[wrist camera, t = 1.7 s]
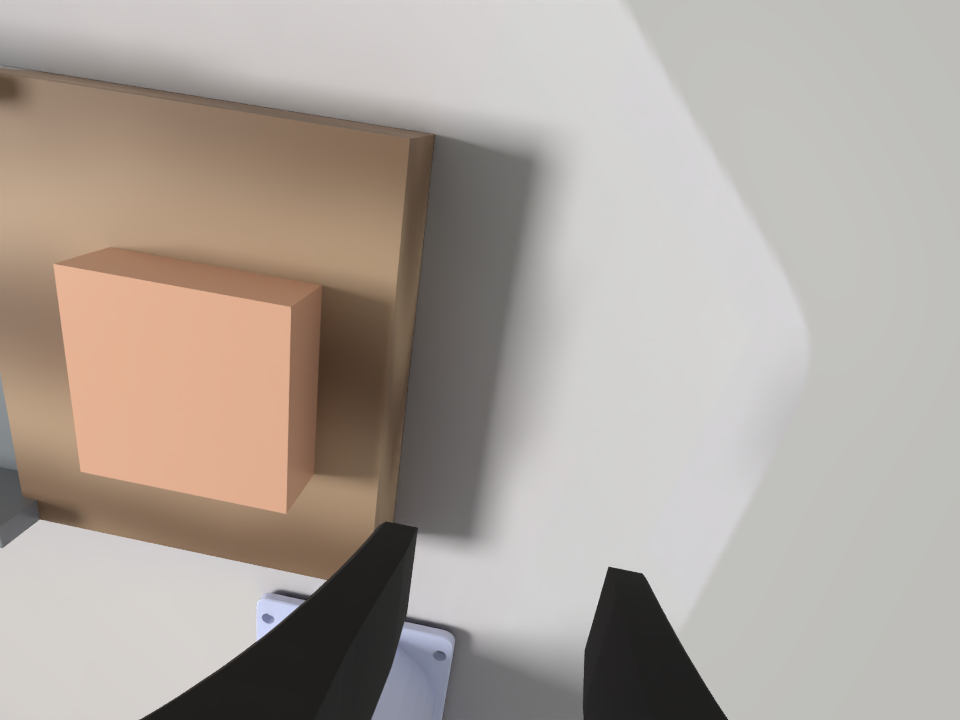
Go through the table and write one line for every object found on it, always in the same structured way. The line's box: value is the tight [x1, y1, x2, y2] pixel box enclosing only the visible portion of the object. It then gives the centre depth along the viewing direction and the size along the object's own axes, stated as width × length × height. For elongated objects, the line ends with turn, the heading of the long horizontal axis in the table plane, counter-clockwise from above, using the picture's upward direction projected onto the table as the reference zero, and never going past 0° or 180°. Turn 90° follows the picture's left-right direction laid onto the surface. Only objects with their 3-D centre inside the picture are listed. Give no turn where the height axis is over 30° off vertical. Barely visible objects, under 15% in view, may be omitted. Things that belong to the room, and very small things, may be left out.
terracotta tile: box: [53, 247, 322, 514], centre depth 17 cm, size 6×6×2 cm
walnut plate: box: [0, 68, 435, 580], centre depth 19 cm, size 14×12×3 cm
